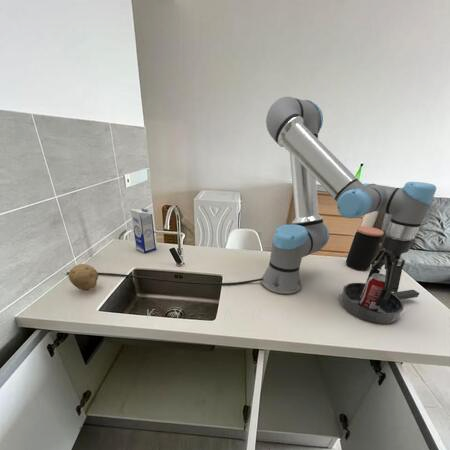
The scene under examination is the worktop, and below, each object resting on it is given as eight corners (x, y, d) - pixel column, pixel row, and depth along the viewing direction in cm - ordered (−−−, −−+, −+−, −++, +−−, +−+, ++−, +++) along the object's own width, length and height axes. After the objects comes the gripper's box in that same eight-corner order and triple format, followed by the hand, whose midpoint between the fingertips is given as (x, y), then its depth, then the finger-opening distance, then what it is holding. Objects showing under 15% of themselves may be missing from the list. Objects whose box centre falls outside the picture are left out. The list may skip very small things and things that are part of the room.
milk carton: (136, 249, 121) (130, 208, 110) (147, 245, 125) (143, 206, 115) (144, 253, 117) (139, 211, 107) (156, 249, 121) (152, 209, 111)
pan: (366, 328, 78) (371, 317, 75) (328, 295, 94) (332, 285, 91) (411, 320, 83) (417, 309, 80) (368, 289, 99) (372, 280, 96)
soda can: (381, 312, 85) (395, 283, 78) (360, 309, 86) (373, 280, 79) (375, 301, 90) (388, 273, 84) (356, 299, 91) (367, 271, 85)
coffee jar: (374, 270, 114) (389, 233, 105) (355, 272, 111) (369, 234, 102) (357, 260, 123) (370, 225, 113) (340, 262, 120) (352, 226, 111)
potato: (81, 282, 93) (74, 258, 88) (105, 283, 93) (99, 259, 88) (68, 295, 85) (60, 270, 80) (94, 296, 85) (87, 271, 80)
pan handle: (392, 301, 88) (394, 296, 87) (386, 297, 90) (388, 293, 89) (417, 297, 91) (419, 293, 90) (411, 293, 93) (413, 289, 93)
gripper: (432, 254, 63) (398, 318, 74) (398, 226, 84) (376, 279, 95) (400, 250, 64) (372, 314, 75) (374, 224, 85) (355, 276, 96)
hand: (374, 294), depth 85 cm, fingers open, 13 cm apart
